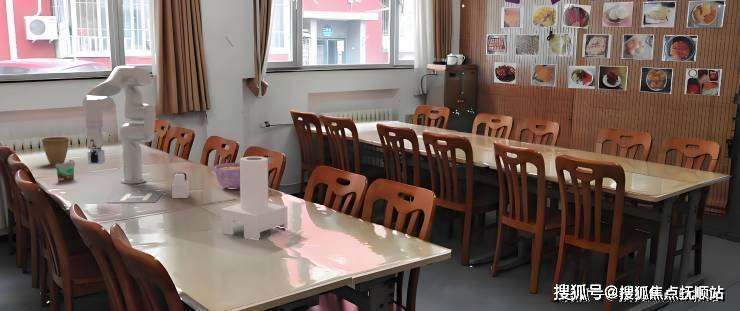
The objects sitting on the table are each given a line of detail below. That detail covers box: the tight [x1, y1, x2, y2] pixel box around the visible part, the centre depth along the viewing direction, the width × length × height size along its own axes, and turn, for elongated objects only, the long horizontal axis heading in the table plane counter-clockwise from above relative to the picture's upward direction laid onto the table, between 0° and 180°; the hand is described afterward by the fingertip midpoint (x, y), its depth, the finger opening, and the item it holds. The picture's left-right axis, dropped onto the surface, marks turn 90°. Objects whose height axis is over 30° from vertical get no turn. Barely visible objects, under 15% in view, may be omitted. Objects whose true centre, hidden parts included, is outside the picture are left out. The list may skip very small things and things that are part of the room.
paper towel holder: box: [220, 156, 288, 239], centre depth 265 cm, size 19×19×30 cm
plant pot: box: [41, 136, 70, 166], centre depth 400 cm, size 15×15×16 cm
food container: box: [55, 159, 76, 183], centre depth 356 cm, size 12×6×10 cm, turn 168°
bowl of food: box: [213, 162, 240, 189], centre depth 345 cm, size 20×20×12 cm
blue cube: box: [87, 149, 106, 165], centre depth 315 cm, size 6×6×6 cm
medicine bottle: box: [171, 172, 190, 200], centre depth 322 cm, size 7×7×12 cm
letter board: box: [106, 191, 164, 204], centre depth 320 cm, size 22×22×1 cm
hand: (96, 161), depth 316 cm, fingers closed on blue cube, 6 cm apart
